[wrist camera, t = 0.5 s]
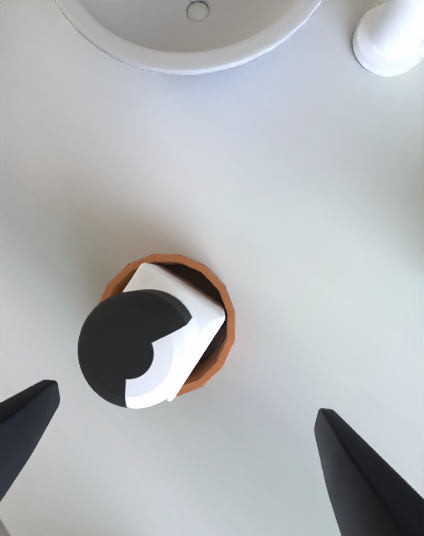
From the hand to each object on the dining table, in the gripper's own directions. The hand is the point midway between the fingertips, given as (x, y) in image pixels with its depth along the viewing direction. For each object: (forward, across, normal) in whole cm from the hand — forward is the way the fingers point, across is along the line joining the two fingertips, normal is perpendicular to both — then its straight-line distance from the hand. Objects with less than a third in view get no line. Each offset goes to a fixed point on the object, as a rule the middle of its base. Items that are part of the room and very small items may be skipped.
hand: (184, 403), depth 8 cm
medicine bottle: (+15, +3, +5) cm, 16 cm away
